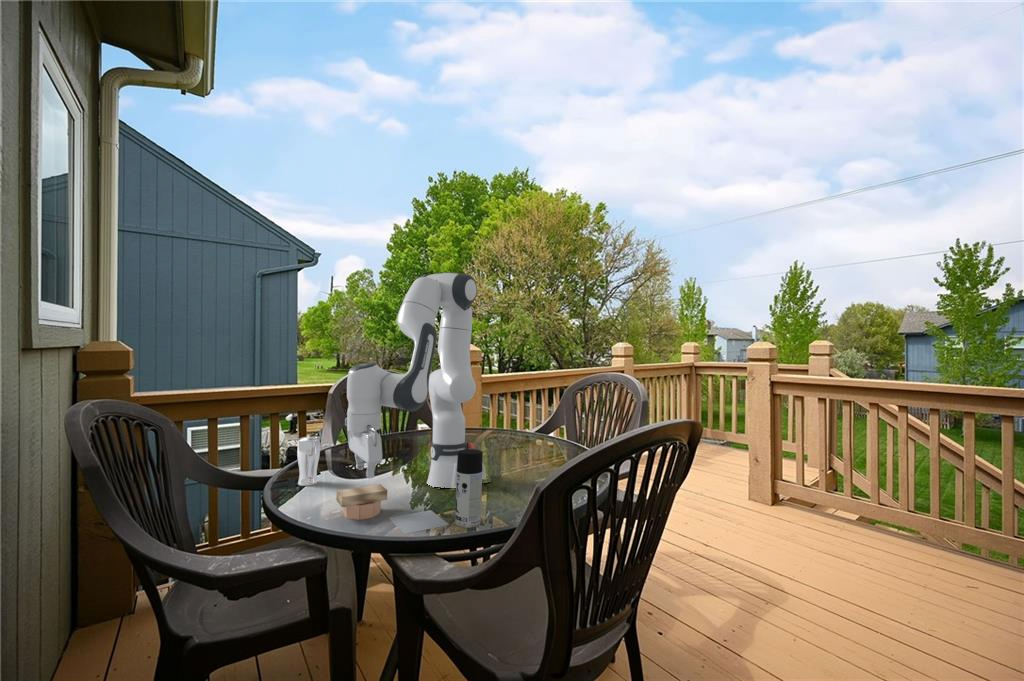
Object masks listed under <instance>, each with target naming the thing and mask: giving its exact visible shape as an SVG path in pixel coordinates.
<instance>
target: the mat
mask: <svg viewBox="0 0 1024 681" xmlns="http://www.w3.org/2000/svg"><path fill="white" fill-rule="evenodd" d="M388 519H389V520H390V522H392V523H393V524H394V526H396V527H397V529H398V530H400V532H401V533H402V534H404V535H407V534H412V533H416V532H421V531H427V530H431V529H434V528H435V529H436V528H440V527H445V526H450V524H449V523H448V522H447V521H446V520H444V519H443V518H442V517H440V516H439V515H438V514H436V513H435V512H434V511H433V510H431V509H429V510H423V511H419V512H412V513H409V514H408V513H407V514H402V515H396V516H392V517H388Z"/></svg>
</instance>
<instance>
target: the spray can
mask: <svg viewBox="0 0 1024 681" xmlns="http://www.w3.org/2000/svg"><path fill="white" fill-rule="evenodd" d="M483 453H484V452H483V451H482V450H479V449H470V448H469V449H466V450H460V451H458V458H457V484H456V489H455V490H456V491H455V517H454V518H455V522H454V523H455V525H456V526H458V527H459V528H475V527H477V526H480V524H481V523H482V522H481V521H482V494H483V492H482V490H483V489H482V488H483V485H482V464H484V461H483V460H484V459H483V457H484V456H483V455H484V454H483Z"/></svg>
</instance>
